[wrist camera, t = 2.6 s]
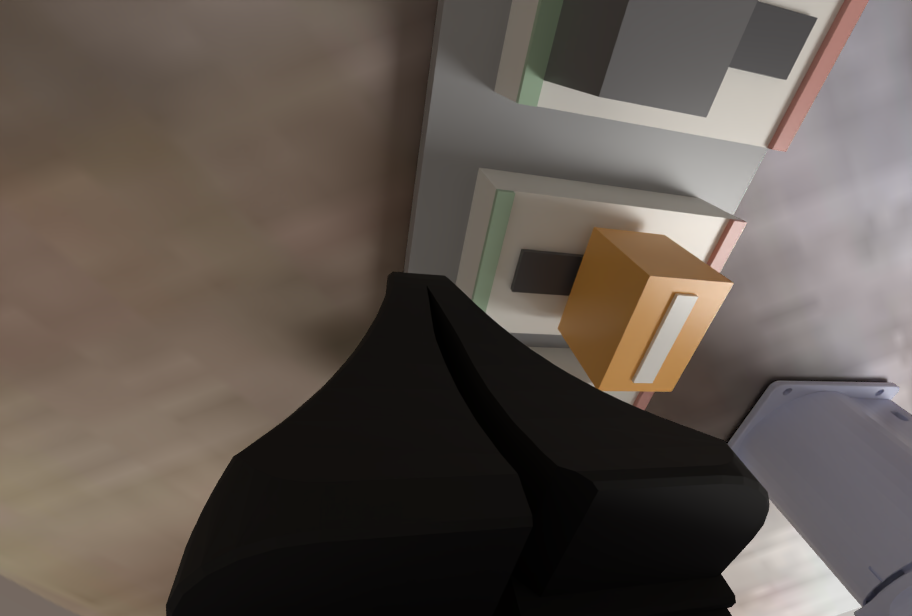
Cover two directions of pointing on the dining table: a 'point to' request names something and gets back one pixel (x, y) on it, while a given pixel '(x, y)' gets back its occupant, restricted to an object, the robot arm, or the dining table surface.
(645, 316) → the handle
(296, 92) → the dining table surface
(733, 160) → the breaker board
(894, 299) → the dining table surface
